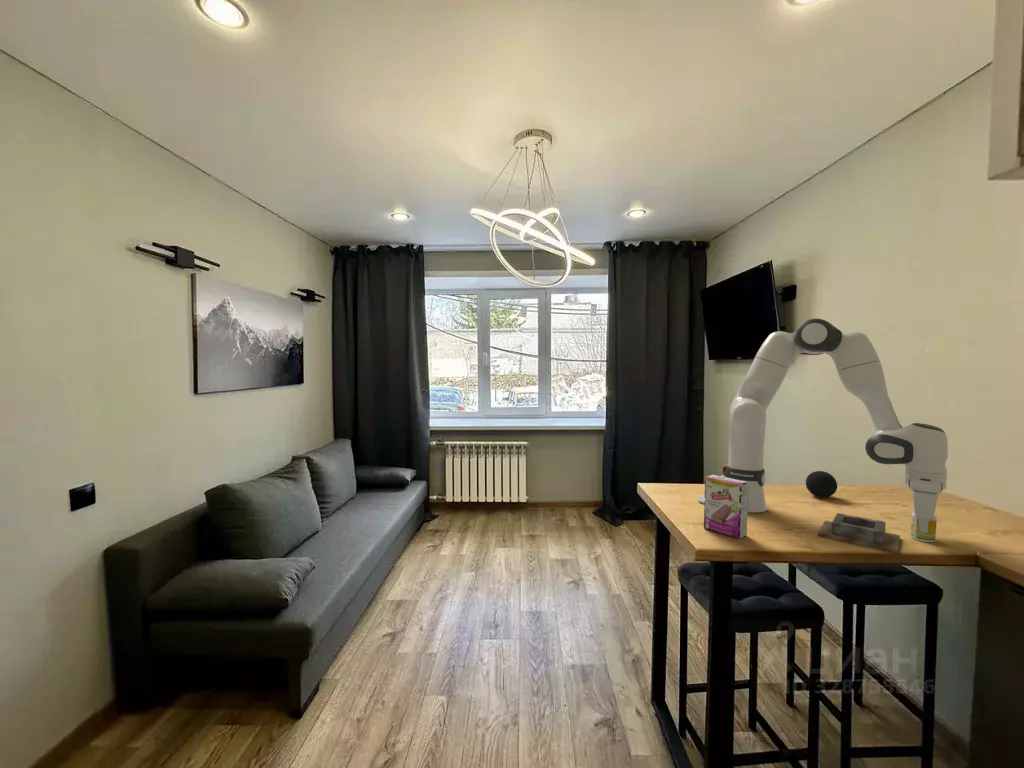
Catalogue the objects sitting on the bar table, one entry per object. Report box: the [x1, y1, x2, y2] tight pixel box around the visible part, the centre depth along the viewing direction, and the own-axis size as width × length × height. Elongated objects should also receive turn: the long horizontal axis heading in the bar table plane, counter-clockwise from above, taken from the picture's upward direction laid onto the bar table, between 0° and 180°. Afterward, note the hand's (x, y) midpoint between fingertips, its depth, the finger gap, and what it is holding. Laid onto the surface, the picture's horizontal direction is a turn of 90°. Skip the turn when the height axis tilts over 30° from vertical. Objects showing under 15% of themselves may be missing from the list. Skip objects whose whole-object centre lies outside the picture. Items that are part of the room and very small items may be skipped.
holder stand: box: [816, 512, 901, 554], centre depth 131 cm, size 18×14×4 cm
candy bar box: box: [703, 474, 749, 540], centre depth 135 cm, size 11×5×16 cm, turn 39°
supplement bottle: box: [910, 511, 938, 543], centre depth 130 cm, size 5×5×10 cm
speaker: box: [805, 470, 838, 499], centre depth 171 cm, size 10×10×10 cm
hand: (923, 527), depth 130 cm, fingers open, 8 cm apart
